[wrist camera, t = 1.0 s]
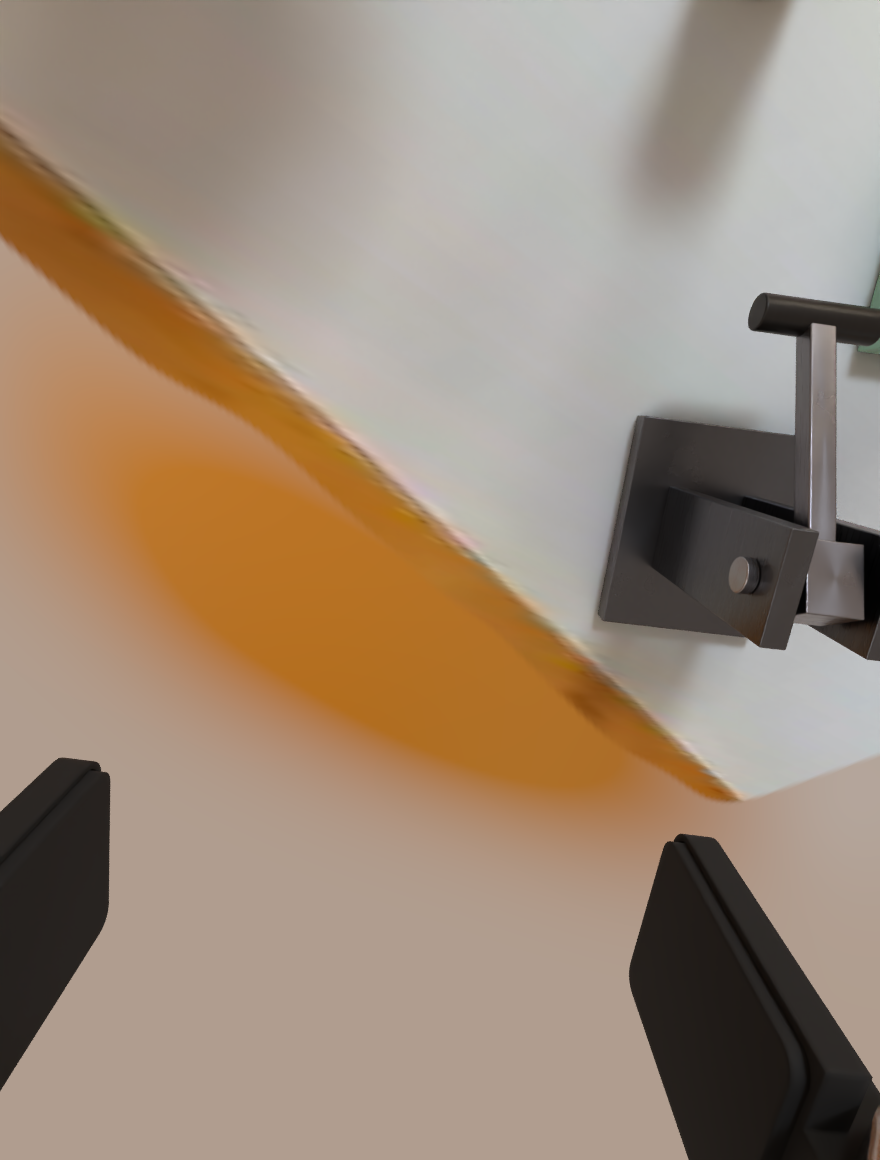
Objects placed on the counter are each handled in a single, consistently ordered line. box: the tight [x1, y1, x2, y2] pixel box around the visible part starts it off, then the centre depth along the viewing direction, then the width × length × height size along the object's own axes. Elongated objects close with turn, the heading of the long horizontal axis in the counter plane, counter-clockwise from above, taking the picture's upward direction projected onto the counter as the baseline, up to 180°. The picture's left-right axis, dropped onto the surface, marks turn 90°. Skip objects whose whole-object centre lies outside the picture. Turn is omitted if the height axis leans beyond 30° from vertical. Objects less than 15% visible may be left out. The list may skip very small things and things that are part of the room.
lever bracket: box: [598, 416, 880, 661], centre depth 28 cm, size 11×9×13 cm
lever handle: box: [748, 293, 880, 626], centre depth 25 cm, size 13×5×2 cm, turn 173°
